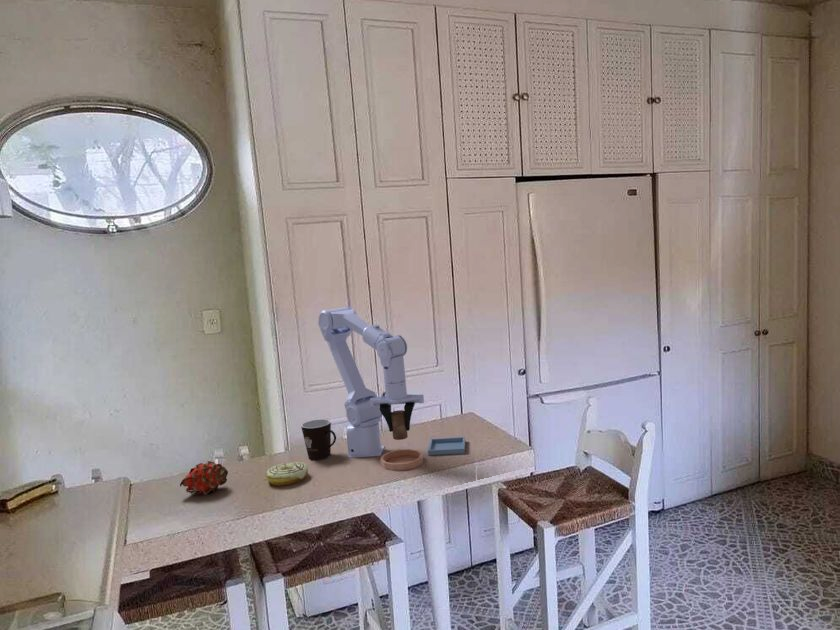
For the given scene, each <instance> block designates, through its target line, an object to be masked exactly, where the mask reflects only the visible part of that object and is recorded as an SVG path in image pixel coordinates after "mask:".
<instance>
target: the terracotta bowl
mask: <svg viewBox="0 0 840 630" xmlns="http://www.w3.org/2000/svg"><path fill="white" fill-rule="evenodd" d="M379 461H380V466H381V467H382V468H383V469H384V470H388V471H389V470H390V471H405V470H410V469H414V468H417V467H419V466H420V465H422V464H423V462H424V453H423V452H421V451H420V450H419V449H413V448H403V449H396V450H391V451H388V452H386V453H384V454H383V455H382V454H381V457H380V460H379Z"/></svg>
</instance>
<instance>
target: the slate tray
mask: <svg viewBox="0 0 840 630" xmlns="http://www.w3.org/2000/svg"><path fill="white" fill-rule="evenodd" d="M465 454H466V436H456V437H441V438H440V437H438V438H437V437H436V438H430V439H429V443H428V447H427V455H428V456H429V457H431V456H434V457H435V456H449V455H465Z"/></svg>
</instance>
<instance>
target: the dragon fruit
mask: <svg viewBox="0 0 840 630" xmlns="http://www.w3.org/2000/svg"><path fill="white" fill-rule="evenodd" d="M228 474H229V471H228V470H227V468H226V467H224V466H223V465H222V464H221V463H215V462H213V461H211V460H207V461H206V463H201V462H200V463H197V464H196V465H195V467H192V468H191V469H190V470H189V473H188V474H186V475H185V477H184V478H183V479H182V480H181V482H180V483H179V486H180V488H181V487H182V486H183V487H184V488H185V487H187V488H185V491H186V493H189V494H195V492H196V493H197V494H203V495H205V496H206V495H207V494H209V493H210V492H216V491H218V490H219V486H223V485H224V484H227V481H228V478H227V477H228Z"/></svg>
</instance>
